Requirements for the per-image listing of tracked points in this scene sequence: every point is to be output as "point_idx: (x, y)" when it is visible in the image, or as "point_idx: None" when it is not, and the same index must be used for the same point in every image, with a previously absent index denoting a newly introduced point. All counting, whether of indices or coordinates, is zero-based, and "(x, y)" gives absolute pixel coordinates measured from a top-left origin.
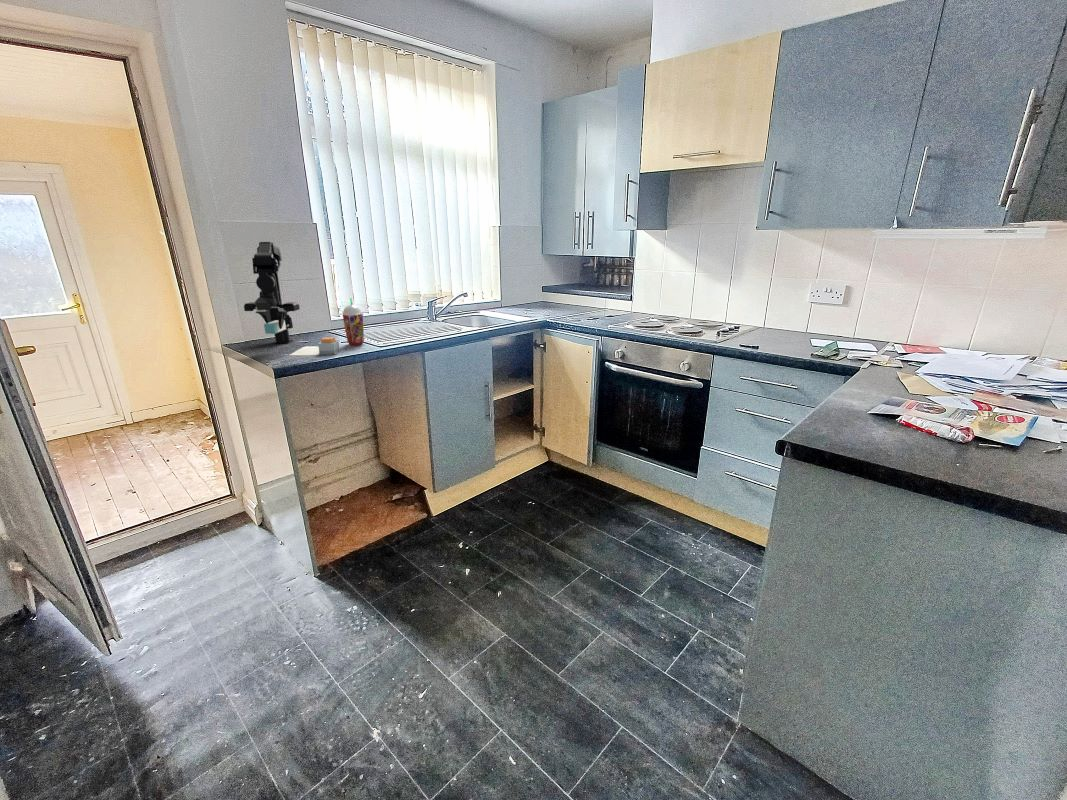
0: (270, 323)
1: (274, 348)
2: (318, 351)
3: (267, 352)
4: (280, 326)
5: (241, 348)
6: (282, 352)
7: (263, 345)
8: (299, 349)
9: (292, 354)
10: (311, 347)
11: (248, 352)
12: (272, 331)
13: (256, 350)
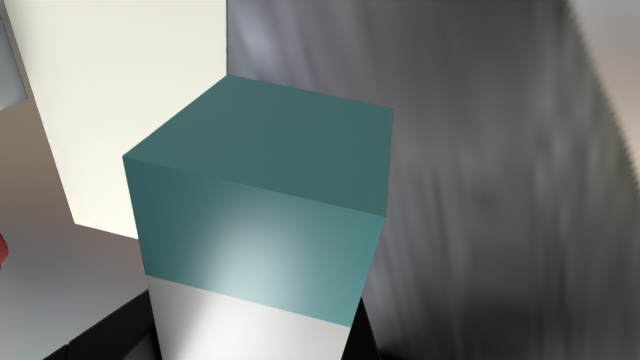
0: (265, 296)
1: (402, 263)
2: (61, 95)
3: (434, 156)
4: None
5: (636, 322)
6: None
7: (484, 350)
8: None
9: (203, 22)
10: None
11: (593, 193)
12: (252, 94)
13: (526, 241)
